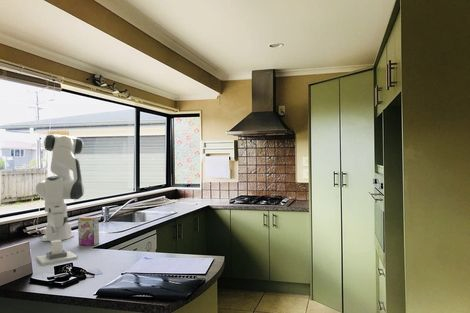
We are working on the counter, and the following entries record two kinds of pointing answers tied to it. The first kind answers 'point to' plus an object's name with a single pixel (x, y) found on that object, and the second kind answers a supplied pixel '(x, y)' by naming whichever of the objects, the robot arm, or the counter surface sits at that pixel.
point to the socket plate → (56, 257)
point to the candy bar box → (88, 230)
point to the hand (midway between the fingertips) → (55, 234)
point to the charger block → (56, 247)
